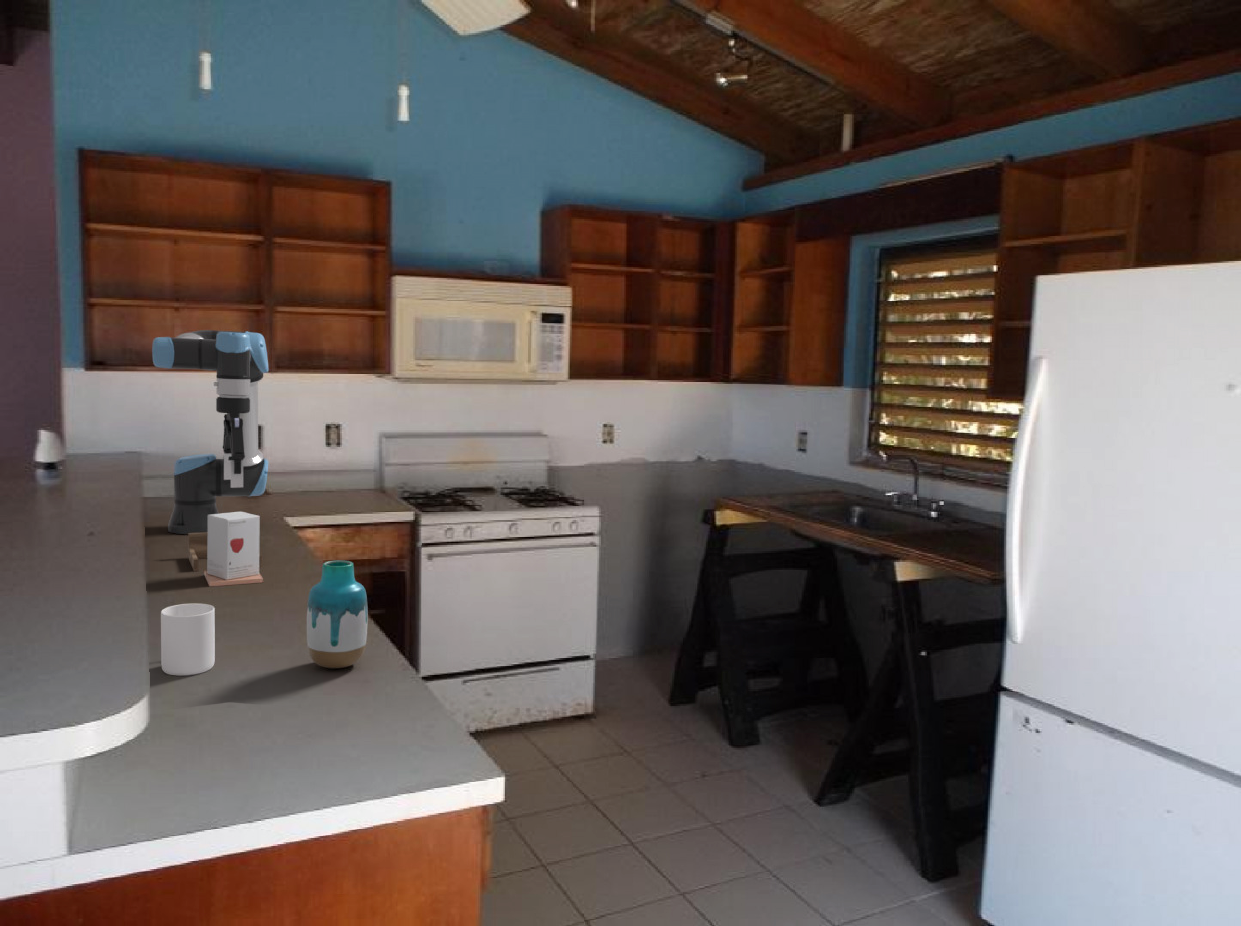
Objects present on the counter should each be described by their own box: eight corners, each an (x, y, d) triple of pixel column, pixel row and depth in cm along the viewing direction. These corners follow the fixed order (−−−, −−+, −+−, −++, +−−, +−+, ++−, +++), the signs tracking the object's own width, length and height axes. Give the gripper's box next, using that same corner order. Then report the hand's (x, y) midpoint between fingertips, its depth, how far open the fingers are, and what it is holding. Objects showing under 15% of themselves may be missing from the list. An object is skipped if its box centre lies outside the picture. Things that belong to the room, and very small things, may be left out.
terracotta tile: (204, 575, 228) (204, 571, 227) (255, 571, 234) (255, 567, 233) (209, 586, 217) (209, 582, 217) (263, 582, 223) (262, 578, 223)
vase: (375, 658, 172) (377, 559, 170) (353, 677, 161) (355, 571, 159) (321, 654, 173) (322, 555, 171) (296, 673, 162) (296, 567, 160)
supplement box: (226, 580, 219) (226, 519, 218) (206, 574, 225) (206, 514, 223) (260, 574, 227) (260, 515, 225) (240, 568, 232) (240, 510, 230)
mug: (211, 652, 171) (211, 596, 170) (216, 673, 160) (216, 613, 159) (160, 657, 167) (159, 600, 166) (162, 679, 156) (161, 618, 155)
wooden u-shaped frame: (188, 557, 245) (188, 533, 244) (252, 554, 253) (252, 530, 252) (193, 571, 231) (193, 544, 230) (261, 566, 239) (261, 541, 238)
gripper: (210, 393, 229) (211, 476, 232) (222, 399, 208) (222, 491, 210) (242, 393, 233) (242, 475, 235) (257, 400, 212) (257, 490, 214)
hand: (233, 483), depth 223 cm, fingers open, 13 cm apart
